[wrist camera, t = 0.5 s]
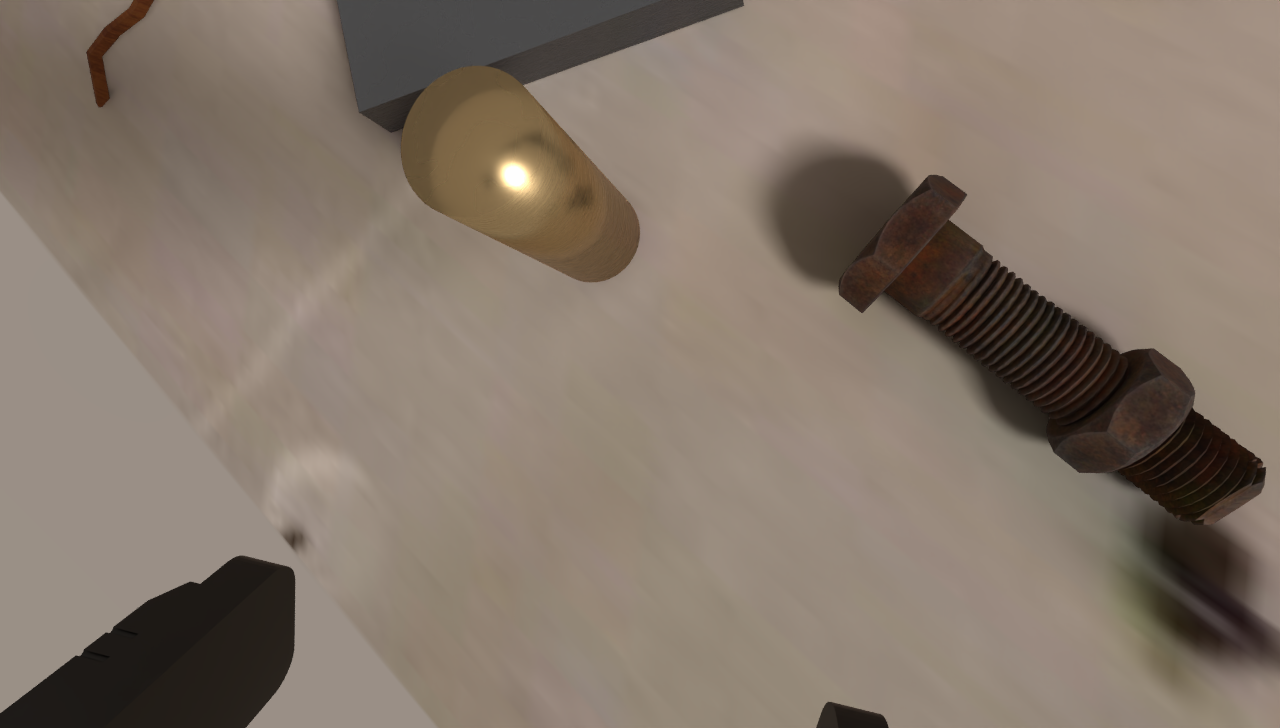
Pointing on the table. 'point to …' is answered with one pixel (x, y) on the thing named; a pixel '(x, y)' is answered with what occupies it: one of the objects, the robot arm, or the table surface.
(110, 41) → the glasses
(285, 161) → the table surface
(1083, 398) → the bolt
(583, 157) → the tan mottled cylinder
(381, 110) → the plate
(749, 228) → the table surface
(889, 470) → the table surface
